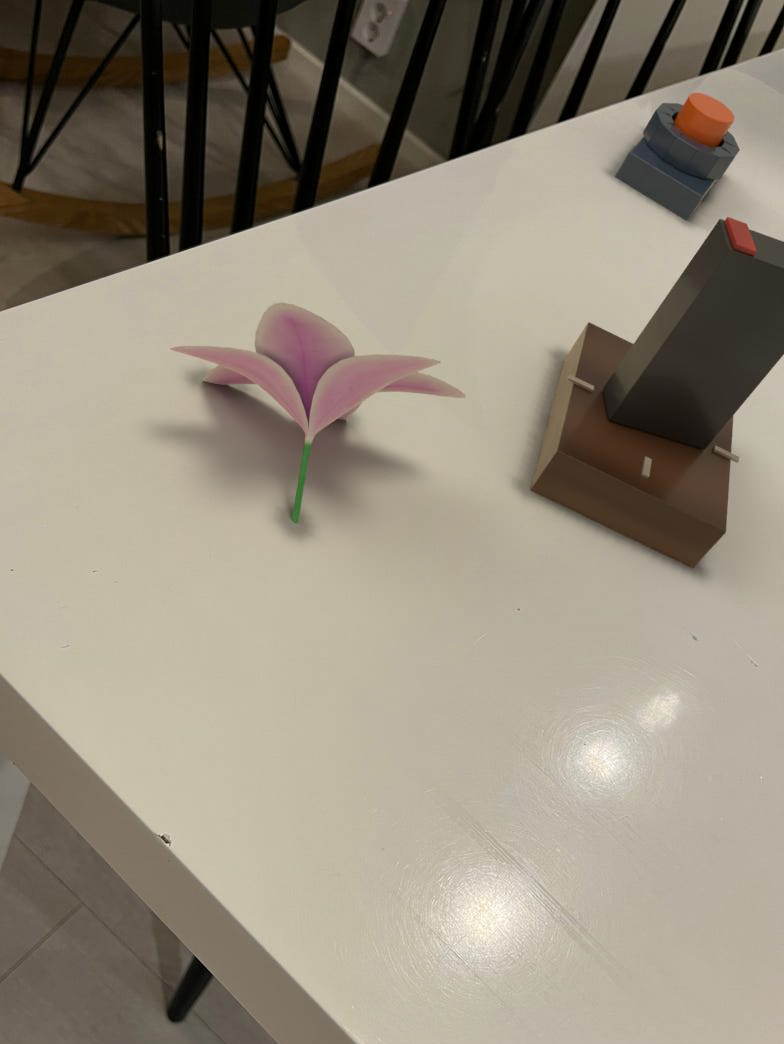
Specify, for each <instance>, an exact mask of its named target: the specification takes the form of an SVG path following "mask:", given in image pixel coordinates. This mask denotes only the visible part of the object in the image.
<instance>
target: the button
mask: <svg viewBox="0 0 784 1044" xmlns="http://www.w3.org/2000/svg"><path fill="white" fill-rule="evenodd" d="M682 105H683V107H682V108H681V110H680V112H679V113H678V115H677V117H676V118H675V120H674V124H675V126H676V127H677V128H678V129H679V130H680V131H681V132H682V133H684V134H685V135H687V136H688V137H690V138H692V139H693V140H695V141H696V142H698V143H701V144H704V145H707V146H710V147H717V146H718V145H719V143H720V142H721V140H722V139H723V137H724V136H725V134H726V133H727V131H728V132H729V130H730V128H731V127H732V125H733V123H734V122H735V115H734V113H733V111H732V110H731V109H730V108H728V106H727V105H726V104H724V103H723V102H722V101H719V100H718V99H716V98H715V97H712V96H710V95H708V94H705V93H701V92H692V93H690V94H689V95H688V96H687V98H686V100H685V102H684V104H682Z"/></svg>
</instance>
